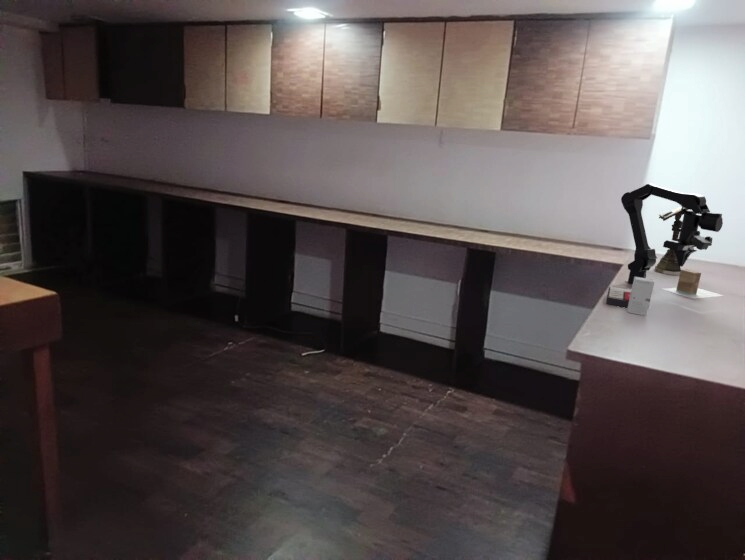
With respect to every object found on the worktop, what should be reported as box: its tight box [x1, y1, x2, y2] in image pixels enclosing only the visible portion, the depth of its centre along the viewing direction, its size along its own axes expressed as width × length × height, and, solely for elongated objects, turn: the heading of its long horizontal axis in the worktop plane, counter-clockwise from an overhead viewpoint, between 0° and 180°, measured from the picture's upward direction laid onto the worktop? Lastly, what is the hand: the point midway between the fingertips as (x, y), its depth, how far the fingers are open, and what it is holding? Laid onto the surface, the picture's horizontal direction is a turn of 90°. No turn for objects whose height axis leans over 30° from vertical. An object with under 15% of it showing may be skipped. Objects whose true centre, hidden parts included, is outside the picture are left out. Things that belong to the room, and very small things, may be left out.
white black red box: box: [605, 286, 632, 309], centre depth 208 cm, size 11×4×15 cm
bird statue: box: [654, 205, 690, 276], centre depth 265 cm, size 17×13×35 cm
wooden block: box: [676, 268, 702, 295], centre depth 228 cm, size 4×6×9 cm, turn 26°
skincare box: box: [626, 277, 655, 316], centre depth 195 cm, size 6×4×12 cm
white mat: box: [662, 287, 724, 300], centre depth 231 cm, size 20×14×1 cm
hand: (680, 266), depth 223 cm, fingers closed
